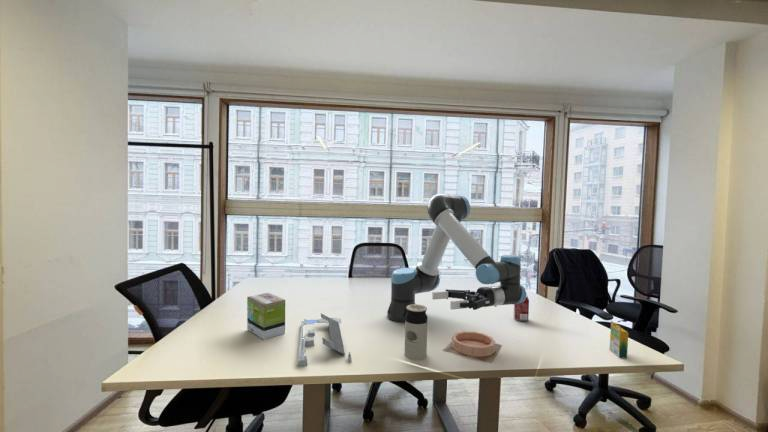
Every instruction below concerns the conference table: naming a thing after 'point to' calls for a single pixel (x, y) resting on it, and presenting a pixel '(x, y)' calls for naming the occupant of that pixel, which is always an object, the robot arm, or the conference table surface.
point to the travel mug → (416, 332)
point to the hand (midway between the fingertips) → (441, 300)
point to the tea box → (266, 315)
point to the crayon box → (618, 340)
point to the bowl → (473, 344)
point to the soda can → (522, 310)
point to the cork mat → (487, 358)
